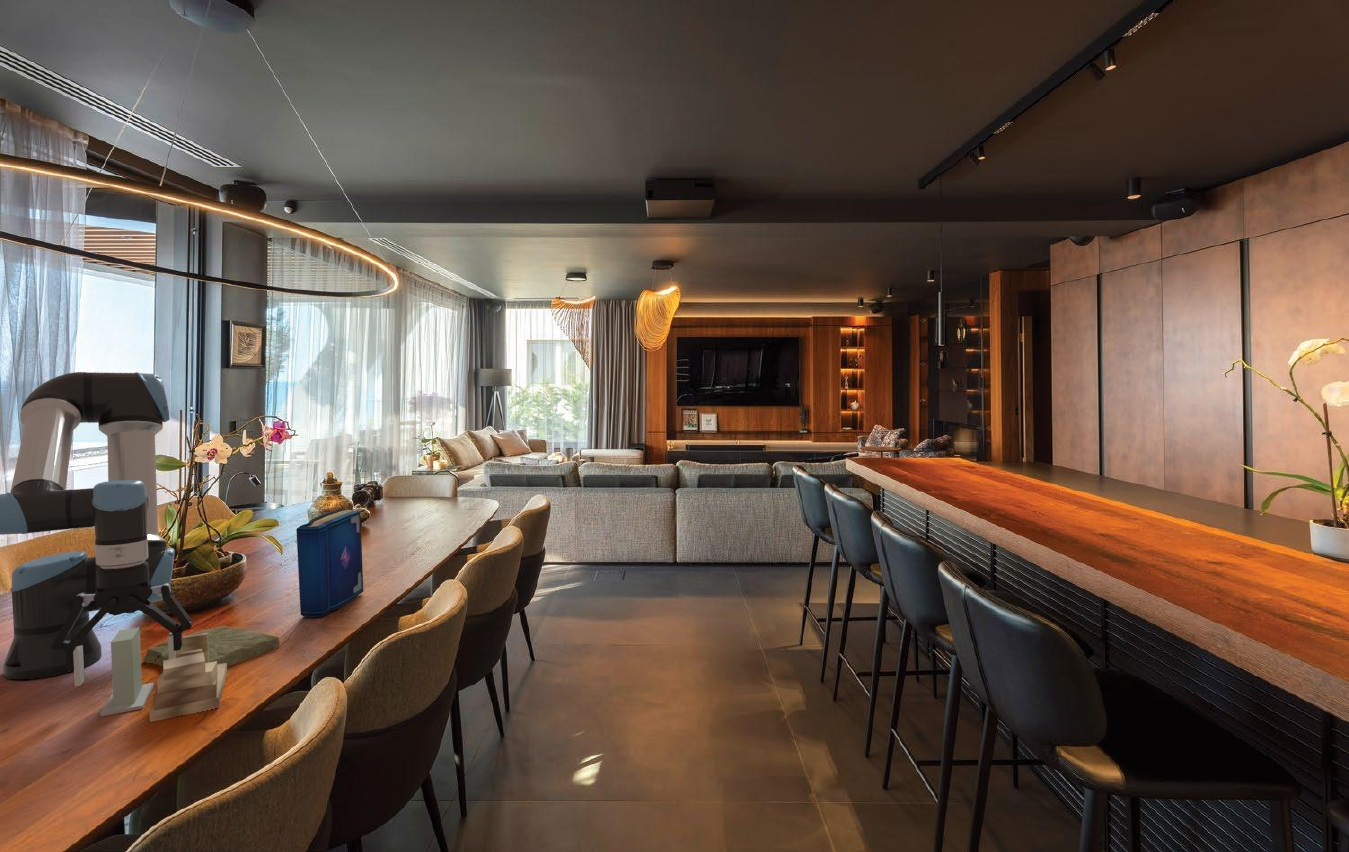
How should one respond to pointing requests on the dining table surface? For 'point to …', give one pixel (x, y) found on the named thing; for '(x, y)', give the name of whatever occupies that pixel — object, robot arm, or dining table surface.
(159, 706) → the offcut bottom
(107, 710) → the felt mat
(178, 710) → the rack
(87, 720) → the dining table surface
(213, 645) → the decorative tile
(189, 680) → the block
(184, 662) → the offcut top
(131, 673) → the pale green block
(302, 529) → the book
